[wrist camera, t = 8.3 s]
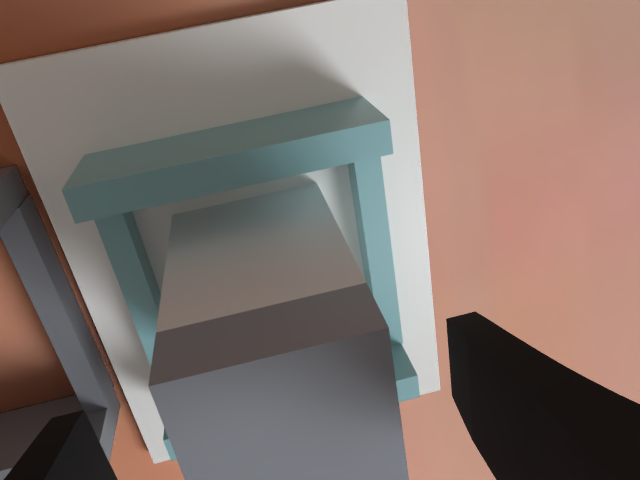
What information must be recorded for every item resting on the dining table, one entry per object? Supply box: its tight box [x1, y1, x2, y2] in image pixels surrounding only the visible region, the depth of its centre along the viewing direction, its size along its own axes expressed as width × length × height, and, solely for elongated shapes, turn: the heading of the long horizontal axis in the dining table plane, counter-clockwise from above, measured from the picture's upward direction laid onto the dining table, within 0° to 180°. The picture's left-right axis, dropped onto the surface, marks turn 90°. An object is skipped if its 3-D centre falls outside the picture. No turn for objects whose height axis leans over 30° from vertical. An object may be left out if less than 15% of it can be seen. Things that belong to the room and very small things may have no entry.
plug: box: [148, 183, 409, 480], centre depth 13 cm, size 4×4×7 cm
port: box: [0, 0, 440, 464], centre depth 15 cm, size 10×13×3 cm
